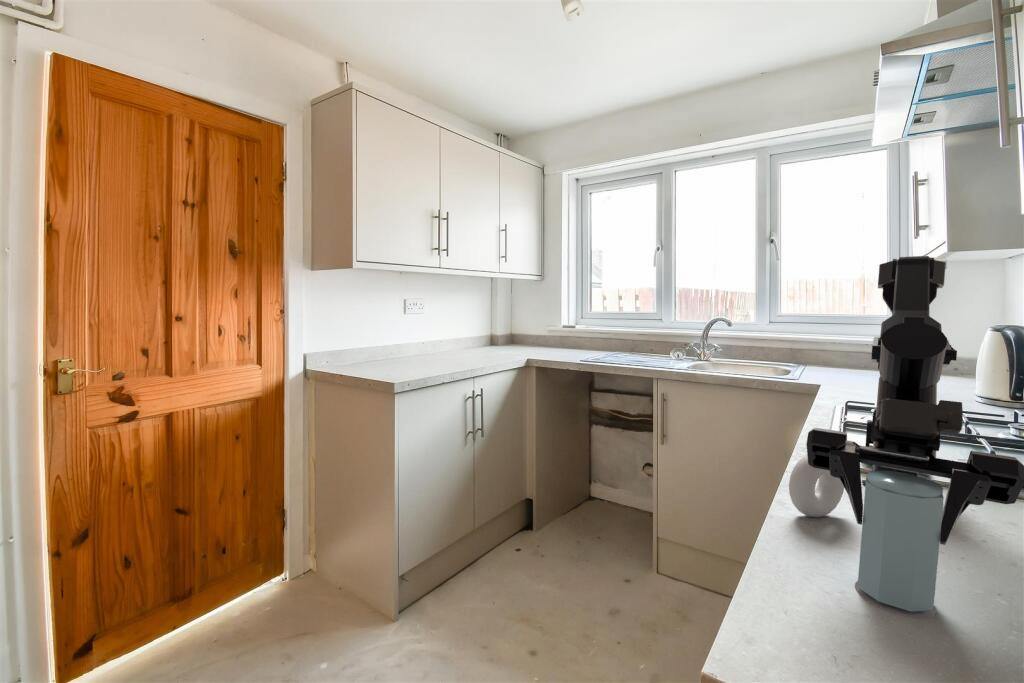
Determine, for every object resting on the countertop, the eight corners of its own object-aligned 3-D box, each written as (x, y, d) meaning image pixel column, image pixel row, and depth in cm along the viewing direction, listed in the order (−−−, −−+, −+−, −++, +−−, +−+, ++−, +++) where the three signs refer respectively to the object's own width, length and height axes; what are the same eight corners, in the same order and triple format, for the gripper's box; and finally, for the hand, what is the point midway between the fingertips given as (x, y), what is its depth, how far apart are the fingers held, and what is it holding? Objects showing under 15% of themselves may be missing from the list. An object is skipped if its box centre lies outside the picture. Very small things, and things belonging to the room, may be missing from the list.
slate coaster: (841, 579, 57) (841, 576, 57) (904, 583, 56) (904, 580, 56) (881, 618, 50) (881, 615, 50) (953, 623, 49) (954, 620, 49)
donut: (825, 506, 77) (830, 445, 76) (847, 515, 74) (852, 452, 73) (781, 516, 73) (785, 452, 72) (802, 526, 70) (806, 459, 69)
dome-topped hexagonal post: (843, 577, 56) (852, 471, 55) (893, 574, 56) (902, 469, 55) (894, 612, 49) (904, 493, 48) (949, 608, 50) (960, 491, 49)
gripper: (813, 363, 60) (794, 475, 52) (1032, 380, 48) (1048, 527, 40) (816, 414, 66) (800, 519, 59) (1008, 439, 55) (1018, 574, 47)
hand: (899, 532), depth 51 cm, fingers open, 7 cm apart
